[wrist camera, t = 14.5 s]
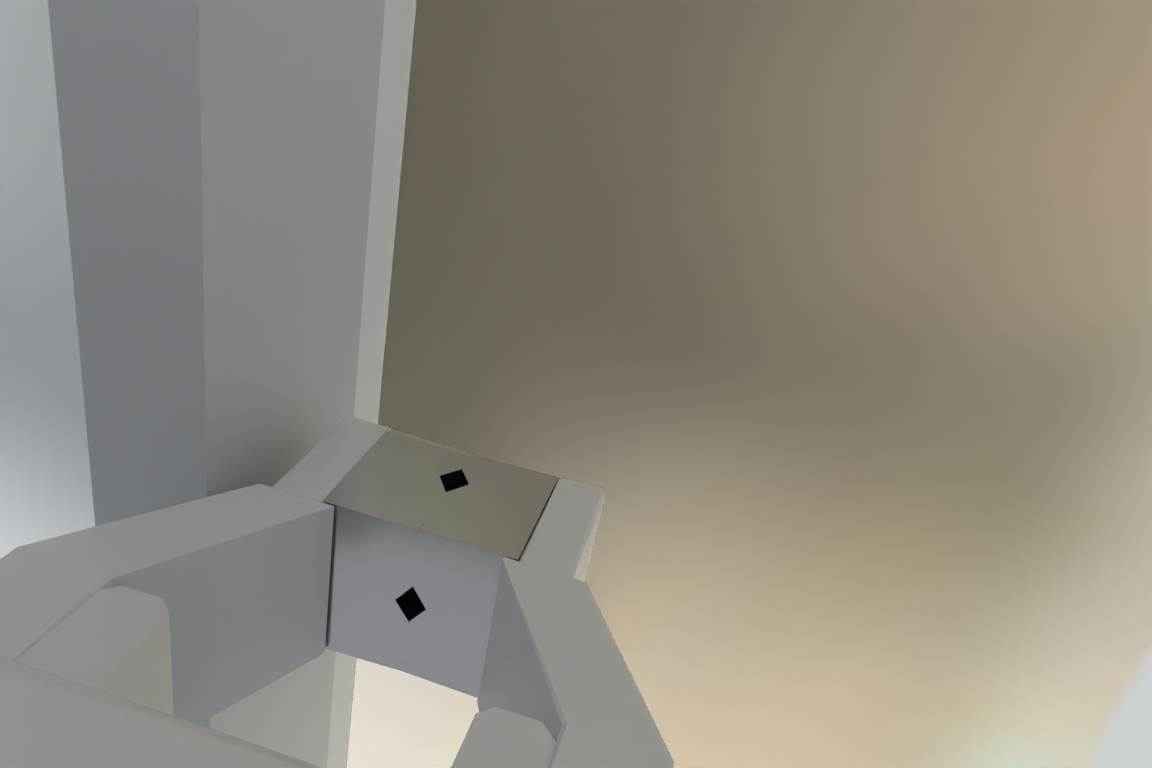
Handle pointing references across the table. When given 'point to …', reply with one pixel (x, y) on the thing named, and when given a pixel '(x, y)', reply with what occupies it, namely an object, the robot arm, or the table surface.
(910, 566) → the table surface
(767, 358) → the table surface
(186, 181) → the lid
